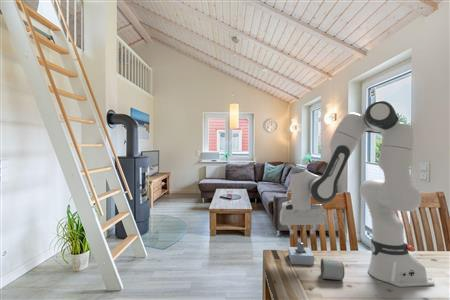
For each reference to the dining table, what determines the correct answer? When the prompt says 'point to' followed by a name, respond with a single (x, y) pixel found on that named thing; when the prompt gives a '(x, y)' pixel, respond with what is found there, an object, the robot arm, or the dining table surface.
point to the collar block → (301, 256)
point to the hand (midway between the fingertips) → (302, 233)
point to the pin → (300, 247)
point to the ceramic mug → (332, 269)
